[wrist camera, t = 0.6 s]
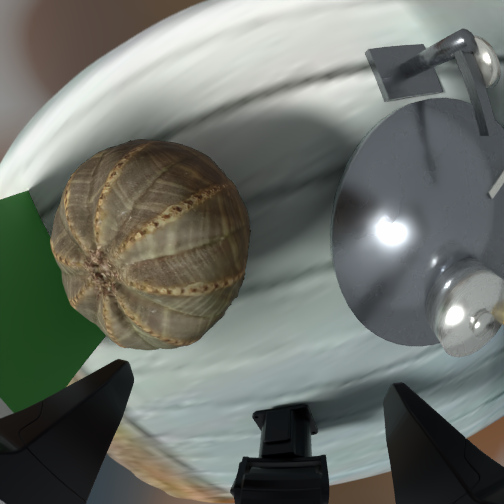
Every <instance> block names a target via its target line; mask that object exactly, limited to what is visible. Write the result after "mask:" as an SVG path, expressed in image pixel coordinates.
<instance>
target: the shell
mask: <svg viewBox="0 0 504 504" xmlns="http://www.w3.org/2000/svg"><path fill="white" fill-rule="evenodd" d="M250 232H251V230H250V225H249V217H248V212H247V209H246V207H245V205H244V203H243V201H242V199H241V197H240V195H239V193H238V191H237V188H236V186H235V185H234V183H233V182H232V181H231V180H230V179H228V178H227V176H226V175H225V173H224V172H223V171H222V170H221V169H220V168H219V167H218V166H217V165H216V164H215V163H214V162H213V161H212V160H211V159H210V158H209V157H208V156H206V155H205V154H203V153H201V152H199V151H197V150H195V149H193V148H190V147H187V146H184V145H181V144H178V143H173V142H165V141H158V140H145V139H137V140H134V141H131V140H130V141H129V142H127V143H124V144H121V145H118V146H114V147H110V148H107V149H105V150H103V151H101V152H98V153H97V154H95V155H94V156H92V157H91V158H90V159H88V160H87V161H86V162H84V163H83V164H82V165H81V166H80V167H79V168H78V169H77V170H76V171H75V172H74V173H73V174H72V175H71V177H70V179H69V181H68V183H67V185H66V186H65V188H64V191H63V194H62V197H61V202H60V204H59V206H58V209H57V211H56V214H55V217H54V223H53V229H52V235H51V238H50V244H51V250H52V252H53V255H54V257H55V260H56V262H57V264H58V266H59V267H60V269H61V271H62V281H63V285H64V289H65V292H66V294H67V297H68V299H69V302H70V304H71V306H72V307H73V308H74V309H75V310H77V311H78V312H79V313H80V314H82V315H83V316H84V317H85V318H87V319H88V320H89V321H91V322H92V323H94V324H96V325H97V326H98V327H99V328H100V329H101V330H102V331H103V333H104V334H105V335H106V336H107V337H108V338H110V339H111V340H112V341H113V342H114V343H116V344H117V345H119V346H120V347H123V348H133V349H142V350H156V349H159V348H162V349H173V348H178V347H181V346H187V345H191V344H192V343H194V342H196V341H198V340H199V339H200V338H201V337H202V336H203V335H204V334H205V333H206V332H207V331H208V330H209V329H210V328H211V327H212V326H213V325H214V324H215V323H216V322H217V321H218V320H220V319H221V318H222V317H223V316H224V314H225V312H226V310H227V308H228V307H229V306H230V305H231V303H232V301H233V300H234V299H235V298H237V296H238V292H239V289H240V287H241V285H242V282H243V280H244V275H245V268H246V263H247V257H248V248H249V238H250Z"/></svg>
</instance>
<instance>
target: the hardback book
mask: <svg viewBox="0 0 504 504" xmlns="http://www.w3.org/2000/svg"><path fill="white" fill-rule="evenodd" d="M105 336H106V335H105V334H104V333H103V331H102V330H101V329H100V328H99V327H98V326H97V325H96V324H94V323H92V322H91V321H89V320H88V319H87V318H85V317H84V316H83V315H82V314H80V313H79V312H78V311H77V310H75V309H74V308H73V307H72V306H71V304H70V302H69V299H68V297H67V294H66V292H65V289H64V285H63V281H62V271H61V269H60V267H59V266H58V264H57V262H56V260H55V257H54V255H53V252H52V250H51V244H50V236H49V234H48V232H47V230H46V228H45V226H44V224H43V222H42V220H41V218H40V216H39V214H38V212H37V210H36V208H35V205H34V203H33V201H32V199H31V196H30V194H29V192H28V191H25V192H22V193H19V194H16V195H13V196H10V197H7V198H4V199H1V200H0V418H2V417H5V416H8V415H10V414H13V413H16V412H18V411H20V410H23V409H25V408H27V407H29V406H31V405H33V404H36V403H37V402H39V401H41V400H44V399H45V398H47V397H49V396H51V395H53V394H55V393H57V392H58V391H60V390H62V389H64V388H65V387H66V386H67V385H68V383H69V382H70V381H71V380H72V378H73V377H74V376H75V374H76V373H77V372H78V370H79V369H80V368H81V367H82V365H83V364H84V363H85V361H86V360H87V359H88V358H89V356H90V355H91V354H92V353H93V351H94V350H95V349H96V348H97V346H98V345H99V344H100V343H101V341H102V340H103V339H104V338H105Z"/></svg>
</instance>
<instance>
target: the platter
mask: <svg viewBox="0 0 504 504" xmlns="http://www.w3.org/2000/svg"><path fill="white" fill-rule="evenodd" d="M495 123H496V127H497V132H498V135H493V136H480V133H479V128H478V124H477V120H476V117H475V113H474V109H473V106H472V104H469V103H466V102H463V101H460V100H456V99H449V98H434V99H427V100H423V101H419V102H415V103H411V104H408V105H406V106H404V107H402V108H399V109H397V110H395V111H394V112H392V113H391V114H389V115H388V116H386V117H385V118H383V119H382V120H381V121H380V122H378V123H377V124H376V125H375V126H374V127H373V128H372V129H371V130H370V131H369V132H368V133H367V135H366V136H365V137H364V138H363V140H362V141H361V142H360V143H359V145H358V146H357V148H356V149H355V151H354V153H353V154H352V156H351V158H350V159H349V161H348V163H347V165H346V168H345V170H344V172H343V174H342V177H341V179H340V182H339V185H338V189H337V192H336V195H335V199H334V205H333V210H332V216H331V230H330V242H331V255H332V260H333V266H334V271H335V274H336V277H337V280H338V283H339V286H340V288H341V291H342V294H343V296H344V298H345V300H346V302H347V304H348V306H349V307H350V309H351V310H352V312H353V313H354V315H355V316H356V318H357V319H358V320H359V321H360V322H361V323H362V324H363V325H364V326H365V327H366V328H367V329H369V330H370V331H371V332H373V333H374V334H375V335H377V336H379V337H381V338H383V339H385V340H387V341H390V342H393V343H396V344H400V345H406V346H427V345H434V344H438V343H440V341H439V340H438V338H437V337H436V335H435V334H434V332H433V331H432V329H431V328H430V326H429V325H428V323H427V321H426V317H425V305H426V300H427V297H428V294H429V292H430V290H431V287H432V286H433V284H434V282H435V281H436V280H437V278H438V277H439V276H440V274H441V273H442V272H443V271H444V270H445V269H446V268H448V267H449V266H450V265H452V264H453V263H455V262H457V261H459V260H462V259H466V258H472V259H476V260H478V261H480V262H481V263H482V264H484V265H485V266H486V267H488V268H489V269H490V270H492V271H493V272H494V273H495V274H497V275H498V276H499V277H500V278H502V279H503V280H504V129H503V128H502V126H501V125H500V124H499V123H498V122H497V121H496V120H495ZM502 324H503V325H504V321H503V323H502Z"/></svg>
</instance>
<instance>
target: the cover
mask: <svg viewBox="0 0 504 504" xmlns="http://www.w3.org/2000/svg"><path fill="white" fill-rule="evenodd" d="M425 317H426V321H427V323H428V325H429V326H430V328H431V329H432V331H433V332H434V334H435V335H436V337H437V338H438V340H439V341H440V343H441V345H442V346H443V348H444V349H445V351H446V352H447V353H448V354H449V355H451V356H454V357H463V356H467V355H470V354H472V353H474V352H476V351H478V350H479V349H481V348H482V347H483V346H484V345H486V344H487V343H488V342H489V341H490V340H491V339H492V338H493V336H494V335H495V334H496V333H497V331H498V330H499V328H500V327H501V325H502V323H503V321H504V280H503V279H502V278H500V277H499V276H498V275H497V274H495V273H494V272H493V271H492V270H490V269H489V268H488V267H486V266H485V265H484V264H482V263H481V262H480V261H478V260H476V259H472V258H466V259H462V260H459V261H457V262H455V263H453V264H452V265H450V266H449V267H448V268H446V269H445V270H444V271H443V272H442V273H441V274H440V276H439V277H438V278H437V280H436V281H435V282H434V284H433V286H432V287H431V290H430V292H429V294H428V297H427V300H426V305H425Z"/></svg>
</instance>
